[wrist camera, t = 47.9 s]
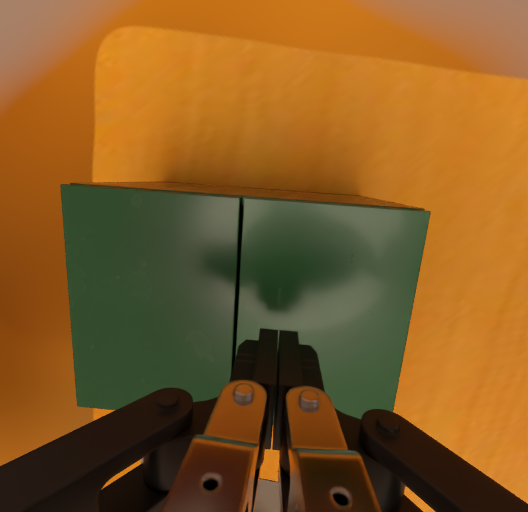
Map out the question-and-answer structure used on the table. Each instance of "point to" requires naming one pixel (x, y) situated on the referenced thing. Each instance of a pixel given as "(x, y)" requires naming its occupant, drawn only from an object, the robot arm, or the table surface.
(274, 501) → the platform
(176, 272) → the green flap box
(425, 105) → the table surface
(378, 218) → the green box lid flap
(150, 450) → the robot arm
